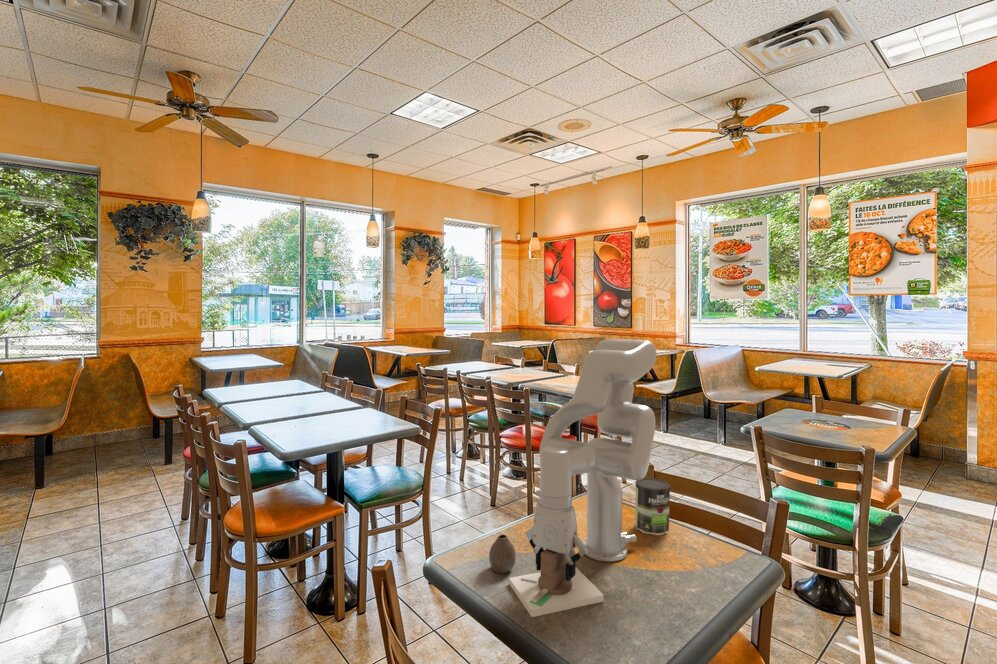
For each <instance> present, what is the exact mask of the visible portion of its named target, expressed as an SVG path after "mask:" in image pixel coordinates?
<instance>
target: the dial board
mask: <svg viewBox="0 0 997 664" xmlns="http://www.w3.org/2000/svg"><path fill="white" fill-rule="evenodd" d="M540 576H541V571H539V572H534V573H529V574H522V575H519V576H518V575H517V576H514V577H508V578H509V579H508V580H509V581H508V585H509V586H510V588H511V589H512V590H513V592H514V594H516V596H517V598H518V599H519V601H520V602H521V603H522V605H523V606H524V608H525V610H526V611H527V612H528V614H529V616H530V617H531V618H534V617H535V618H536V617H539V616H544V615H545V616H546V615H548V614H549V615H550V614H554V613H559V612H562V611H567V610H571V609H574V608H575V609H576V608H580V607H585V606H589V605H594V604H600V603H604V602H605V601H604V597H605V595H604V594H603V593H602V592H601V591H600V590H599V588H598V587H596V586H595V585H594V583H592V581H590V580H589V578H587V577H586V576H585V575H584V574H583V572H581V571H580V570H579V568H578V567H576V571H575V576H574V577H573V578H572V579H571V581H572V588H571V590H570V591H569V592H567V593H564V594H550V593H547V594H545V595H544V596H543V597H542V598H541V599H539V600H538V601H537V602H534V601H532V598H533V597H534V596H536V595H537V594H538V593H539V592H540V591H542V590H541V589H540V587H539V586H538V579H539V577H540Z"/></svg>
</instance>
